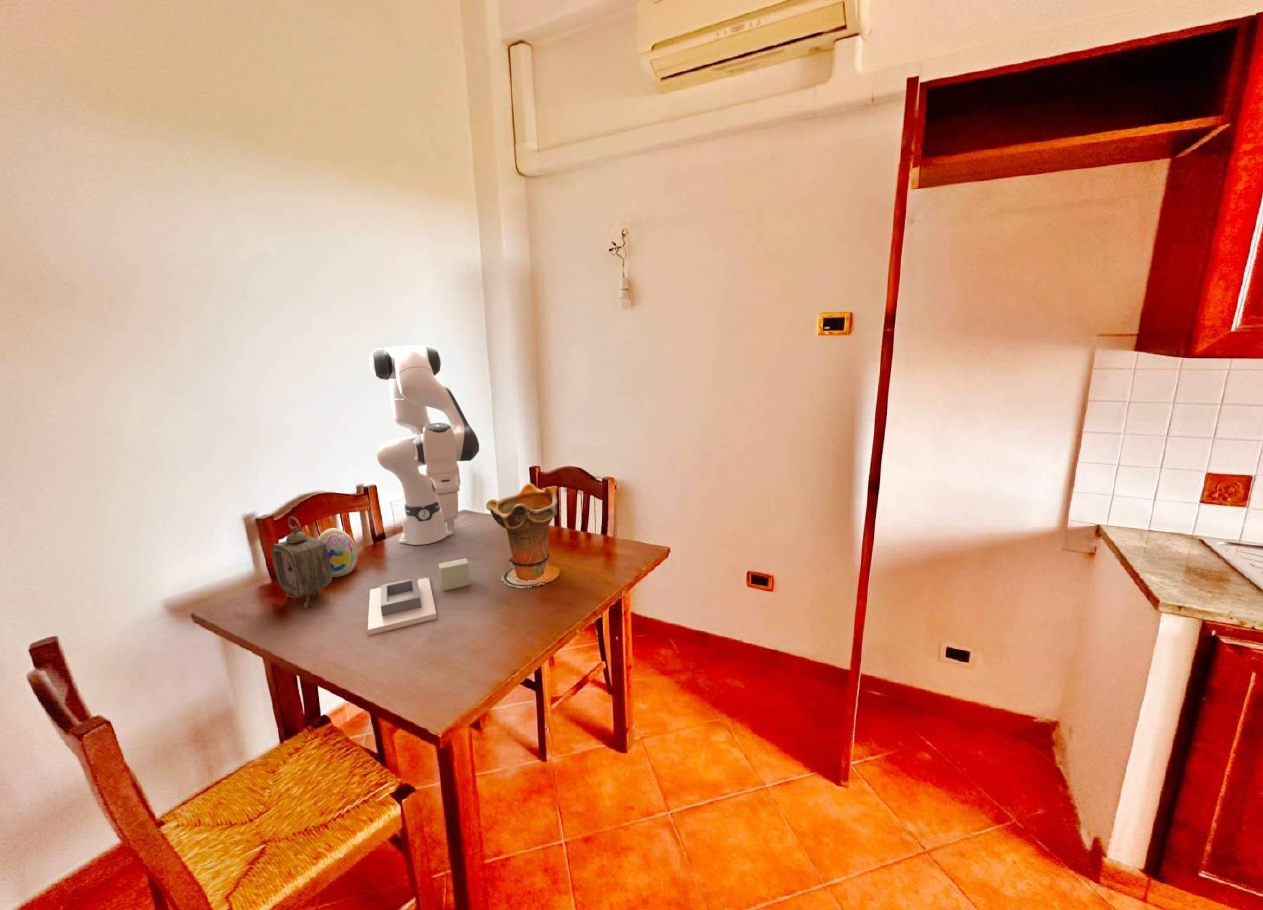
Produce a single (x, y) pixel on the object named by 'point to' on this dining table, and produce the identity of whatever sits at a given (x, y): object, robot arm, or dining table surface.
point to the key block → (454, 574)
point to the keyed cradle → (400, 605)
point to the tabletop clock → (301, 564)
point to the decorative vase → (526, 530)
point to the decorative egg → (339, 551)
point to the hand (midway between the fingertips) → (449, 525)
